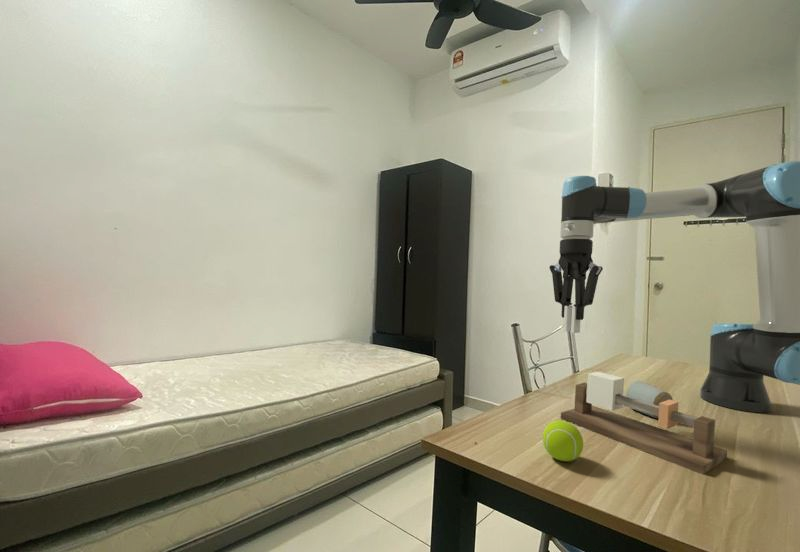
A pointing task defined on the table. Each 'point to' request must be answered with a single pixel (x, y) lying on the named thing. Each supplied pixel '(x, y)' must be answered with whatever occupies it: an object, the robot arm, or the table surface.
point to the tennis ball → (562, 440)
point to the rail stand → (650, 432)
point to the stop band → (667, 414)
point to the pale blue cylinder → (647, 395)
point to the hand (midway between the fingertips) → (571, 331)
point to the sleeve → (604, 390)
